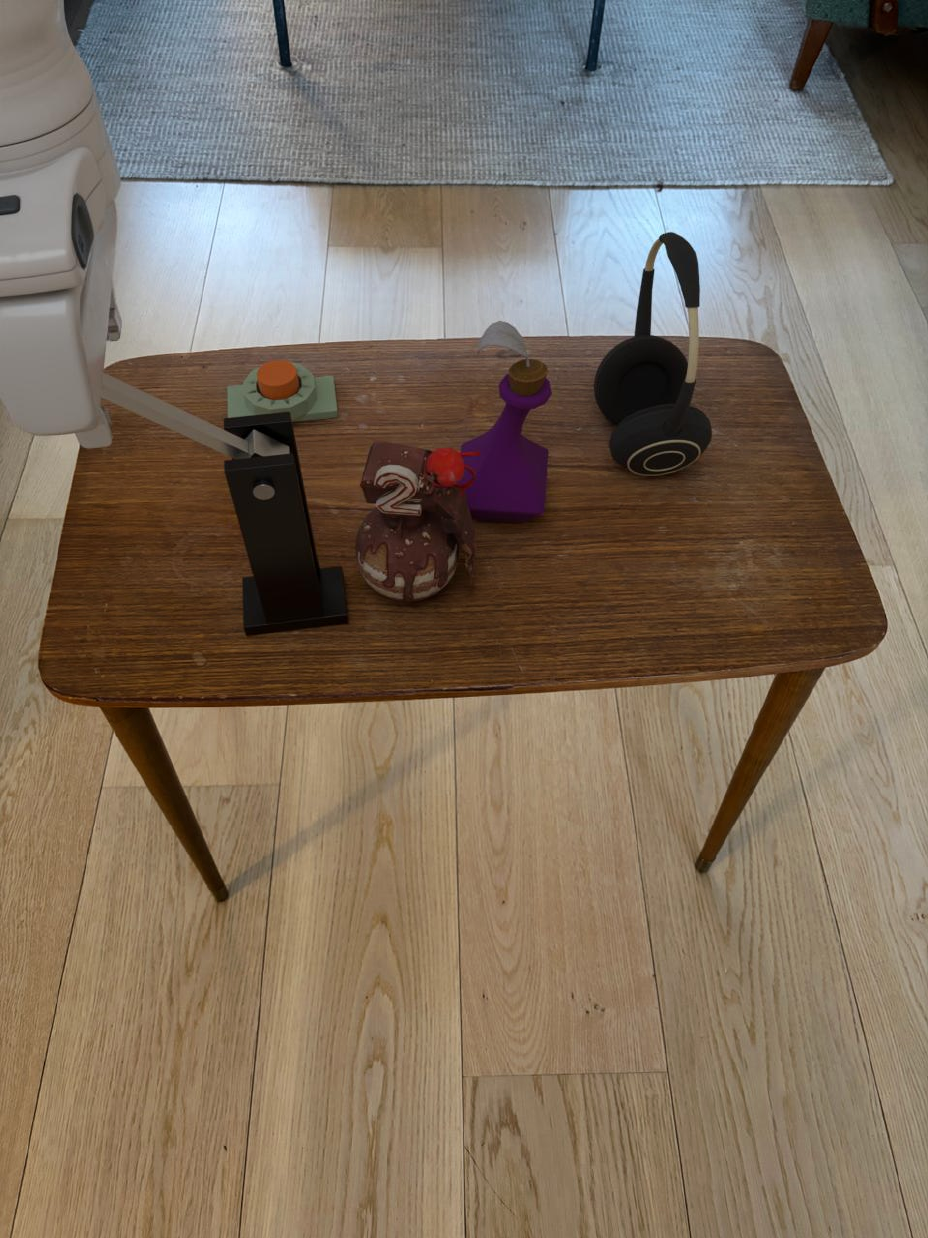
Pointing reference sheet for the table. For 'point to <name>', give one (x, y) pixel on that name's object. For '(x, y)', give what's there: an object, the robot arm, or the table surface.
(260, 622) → the bracket
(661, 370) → the headphones
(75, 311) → the robot arm
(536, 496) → the perfume bottle
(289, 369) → the button
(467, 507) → the chocolate birthday cake
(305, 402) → the button box
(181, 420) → the lever
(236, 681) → the table surface
